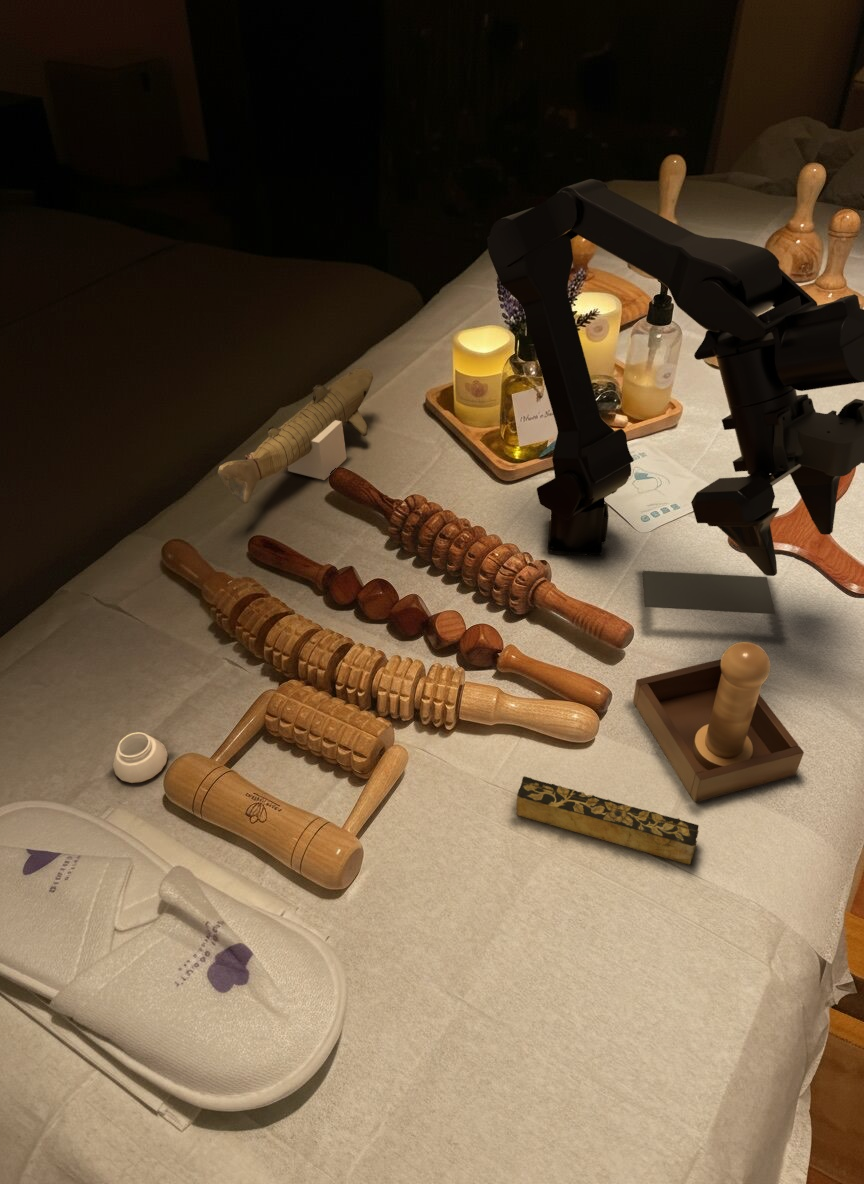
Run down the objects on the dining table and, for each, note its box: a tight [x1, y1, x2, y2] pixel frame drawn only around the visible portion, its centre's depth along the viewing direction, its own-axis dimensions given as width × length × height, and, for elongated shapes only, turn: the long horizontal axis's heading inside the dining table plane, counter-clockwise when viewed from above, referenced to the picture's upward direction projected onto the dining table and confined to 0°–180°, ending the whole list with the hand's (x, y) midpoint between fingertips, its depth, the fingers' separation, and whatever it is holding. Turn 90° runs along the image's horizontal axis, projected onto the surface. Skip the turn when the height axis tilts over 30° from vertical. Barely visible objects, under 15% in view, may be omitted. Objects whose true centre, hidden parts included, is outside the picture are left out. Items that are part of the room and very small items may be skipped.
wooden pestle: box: [693, 641, 771, 770], centre depth 77 cm, size 5×5×14 cm
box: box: [632, 658, 805, 803], centre depth 82 cm, size 13×10×4 cm
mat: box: [642, 570, 776, 615], centre depth 98 cm, size 14×10×1 cm
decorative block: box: [516, 775, 700, 865], centre depth 75 cm, size 15×2×4 cm, turn 69°
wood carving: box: [217, 367, 374, 504], centre depth 119 cm, size 9×35×11 cm, turn 153°
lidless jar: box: [112, 731, 169, 784], centre depth 83 cm, size 5×3×5 cm
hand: (799, 553), depth 83 cm, fingers open, 9 cm apart
